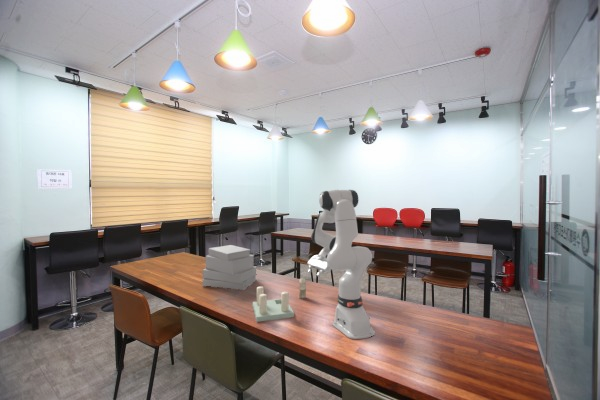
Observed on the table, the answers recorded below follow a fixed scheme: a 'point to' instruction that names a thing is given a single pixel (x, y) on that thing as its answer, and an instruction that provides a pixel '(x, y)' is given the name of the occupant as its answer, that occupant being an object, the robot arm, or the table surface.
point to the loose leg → (302, 288)
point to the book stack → (229, 267)
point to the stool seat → (271, 307)
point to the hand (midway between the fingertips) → (313, 274)
